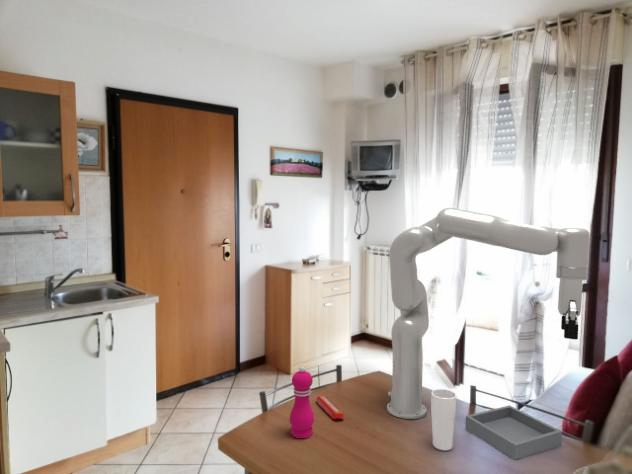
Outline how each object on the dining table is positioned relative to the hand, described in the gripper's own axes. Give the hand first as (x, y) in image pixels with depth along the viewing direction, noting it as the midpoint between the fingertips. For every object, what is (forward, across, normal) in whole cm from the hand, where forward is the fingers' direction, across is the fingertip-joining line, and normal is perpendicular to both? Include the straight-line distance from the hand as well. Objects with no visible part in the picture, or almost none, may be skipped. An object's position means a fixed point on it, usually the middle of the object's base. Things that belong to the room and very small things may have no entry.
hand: (569, 334), depth 123 cm
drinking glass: (+31, +17, -31) cm, 47 cm away
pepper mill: (+31, +28, -69) cm, 81 cm away
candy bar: (+32, +11, -68) cm, 75 cm away
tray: (+31, +3, -14) cm, 34 cm away
